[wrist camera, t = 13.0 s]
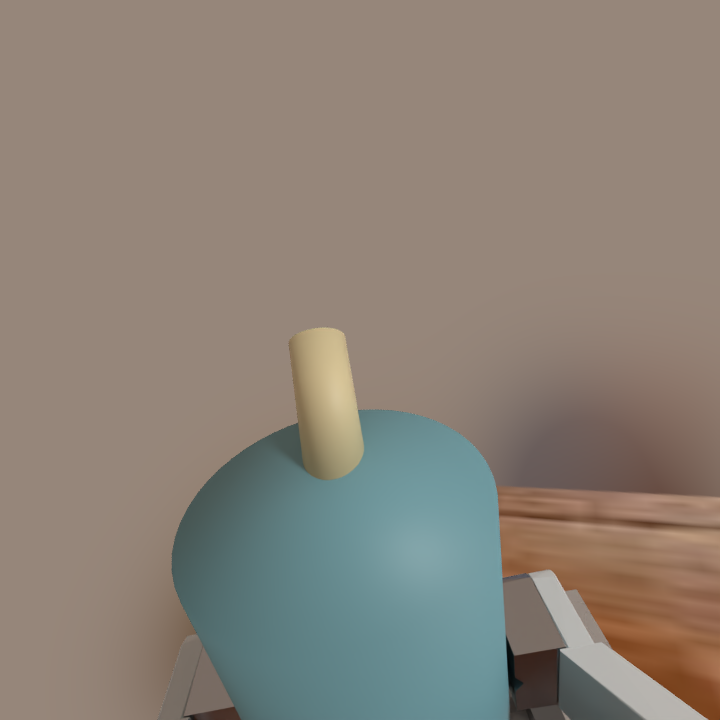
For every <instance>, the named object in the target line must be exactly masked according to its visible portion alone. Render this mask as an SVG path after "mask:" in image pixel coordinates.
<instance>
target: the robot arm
mask: <svg viewBox="0 0 720 720" xmlns="http://www.w3.org/2000/svg"><path fill="white" fill-rule="evenodd" d="M502 581H503V598H504V616H505V633H506V650H507V668H508V685H509V690H510V692H511V695H512V698H513V701H514V704H515V706H516V709H517V711H518V710H525V709H532V708H538V707H545V706H552V705H559V708H560V709H561V710H562V711H563V712H564V713H565V714H566V715H567V716H568V717H569V718H570V719H571V720H707V719H706V718H705V717H703V716H702V715H701V714H699V713H698V712H696V711H695V710H694V709H692V708H691V707H690V706H688V705H687V704H686V703H684V702H683V701H681V700H680V699H679V698H677V697H676V696H675V695H673V694H672V693H671V692H669V691H668V690H666V689H665V688H664V687H662V686H661V685H660V684H658V683H657V682H656V681H654V680H653V679H651V678H650V677H649V676H647V675H646V674H645V673H643V672H642V671H640V670H639V669H638V668H636V667H635V666H634V665H632V664H631V663H630V662H628V661H627V660H625V659H624V658H623V657H621V656H620V655H619V654H617V653H616V652H615V651H613V650H612V649H610V648H609V647H608V646H606V645H605V644H604V643H602V642H596V643H594V642H593V640H592V638H591V636H590V635H589V633H588V631H587V629H586V628H585V626H584V624H583V623H582V621H581V619H580V617H579V616H578V614H577V612H576V610H575V609H574V607H573V605H572V603H571V602H570V600H569V598H568V596H567V595H566V593H565V591H564V589H563V588H562V586H561V584H560V582H559V581H558V579H557V577H556V575H555V574H554V573H553V572H552V571H551V570H543V571H538V572H534V573H529V574H526V573H524V574H519V575H514V576H509V577H504V578H502ZM157 720H241V718H240V716H239V714H238V713H237V711H236V709H235V707H234V705H233V703H232V701H231V699H230V697H229V695H228V693H227V691H226V689H225V687H224V685H223V683H222V682H221V680H220V678H219V676H218V674H217V672H216V670H215V668H214V666H213V664H212V662H211V660H210V658H209V656H208V654H207V653H206V651H205V649H204V647H203V645H202V643H201V641H200V639H199V637H198V635H197V634H196V635H191V636H187V637H186V639H185V640H184V642H183V644H182V645H181V648H180V651H179V654H178V657H177V661H176V664H175V667H174V670H173V673H172V676H171V679H170V682H169V685H168V688H167V691H166V695H165V698H164V701H163V704H162V707H161V710H160V713H159V716H158V719H157Z"/></svg>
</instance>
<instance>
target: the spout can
mask: <svg viewBox="0 0 720 720" xmlns="http://www.w3.org/2000/svg"><path fill="white" fill-rule="evenodd" d="M289 350H290V358H291V367H292V375H293V384H294V392H295V400H296V409H297V417H298V423H296V424H294V425H291V426H288V427H286V428H284V429H281V430H279V431H277V432H274V433H272V434H271V435H269V436H267V437H265V438H263V439H261V440H259V441H257V442H256V443H254V444H253V445H251V446H249V447H248V448H246V449H245V450H243V451H242V452H240V453H239V454H238V455H236V456H235V457H234V458H232V459H231V460H230V461H229V462H227V464H225V465H224V466H223V467H221V468H220V469H219V470H218V471H217V472H216V473H215V474H214V475H213V476H212V477H211V478H210V479H209V480H208V481H207V483H206V484H205V485H204V486H203V487H202V489H201V490H200V491H199V492H198V493H197V495H196V496H195V498H194V499H193V501H192V502H191V504H190V505H189V507H188V509H187V511H186V513H185V515H184V517H183V518H182V520H181V523H180V525H179V528H178V531H177V534H176V537H175V541H174V546H173V551H172V575H173V581H174V586H175V589H176V592H177V594H178V597H179V599H180V602H181V604H182V606H183V608H184V610H185V612H186V614H187V616H188V618H189V620H190V622H191V623H192V625H193V627H194V629H195V631H196V633H197V635H198V637H199V639H200V641H201V643H202V645H203V647H204V649H205V651H206V653H207V654H208V656H209V658H210V660H211V662H212V664H213V666H214V668H215V670H216V672H217V674H218V676H219V678H220V680H221V682H222V683H223V685H224V687H225V689H226V691H227V693H228V695H229V697H230V699H231V701H232V703H233V705H234V707H235V709H236V711H237V713H238V714H239V716H240V718H241V720H510V703H509V685H508V668H507V650H506V633H505V616H504V598H503V581H502V563H501V546H500V529H499V511H498V494H497V489H496V485H495V481H494V477H493V475H492V473H491V471H490V468H489V466H488V464H487V462H486V461H485V459H484V458H483V456H482V455H481V453H480V452H479V451H478V450H477V449H476V448H475V447H474V446H473V445H472V444H471V443H470V442H469V441H468V440H467V439H465V438H464V437H463V436H462V435H461V434H459V433H458V432H456V431H454V430H452V429H451V428H449V427H448V426H446V425H443V424H441V423H439V422H437V421H435V420H432V419H429V418H426V417H423V416H419V415H415V414H411V413H406V412H399V411H392V410H358V408H357V403H356V397H355V391H354V385H353V380H352V374H351V368H350V362H349V357H348V351H347V345H346V339H345V335H344V334H343V332H341V331H340V330H337V329H333V328H314V329H309V330H305V331H302V332H300V333H298V334H296V335H294V336H293V337H292V338H291V339H290V341H289Z"/></svg>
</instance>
